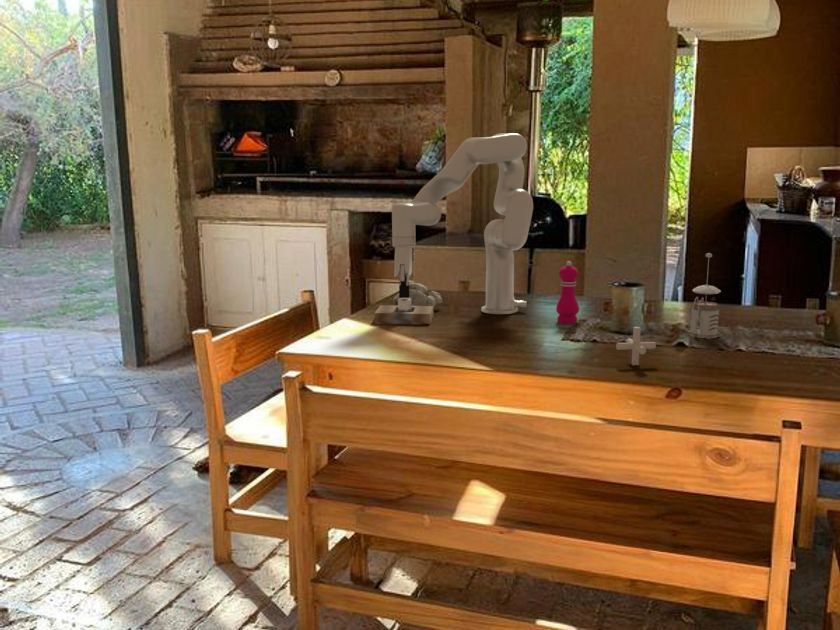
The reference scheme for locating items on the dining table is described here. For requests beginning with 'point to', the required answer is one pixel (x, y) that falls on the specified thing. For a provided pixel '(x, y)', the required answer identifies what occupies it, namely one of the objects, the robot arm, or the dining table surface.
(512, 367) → the dining table surface
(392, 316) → the frame
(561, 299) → the pepper mill
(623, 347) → the pipe connector
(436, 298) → the mineral
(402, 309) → the white glossy cylinder
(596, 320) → the dining table surface
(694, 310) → the french press
